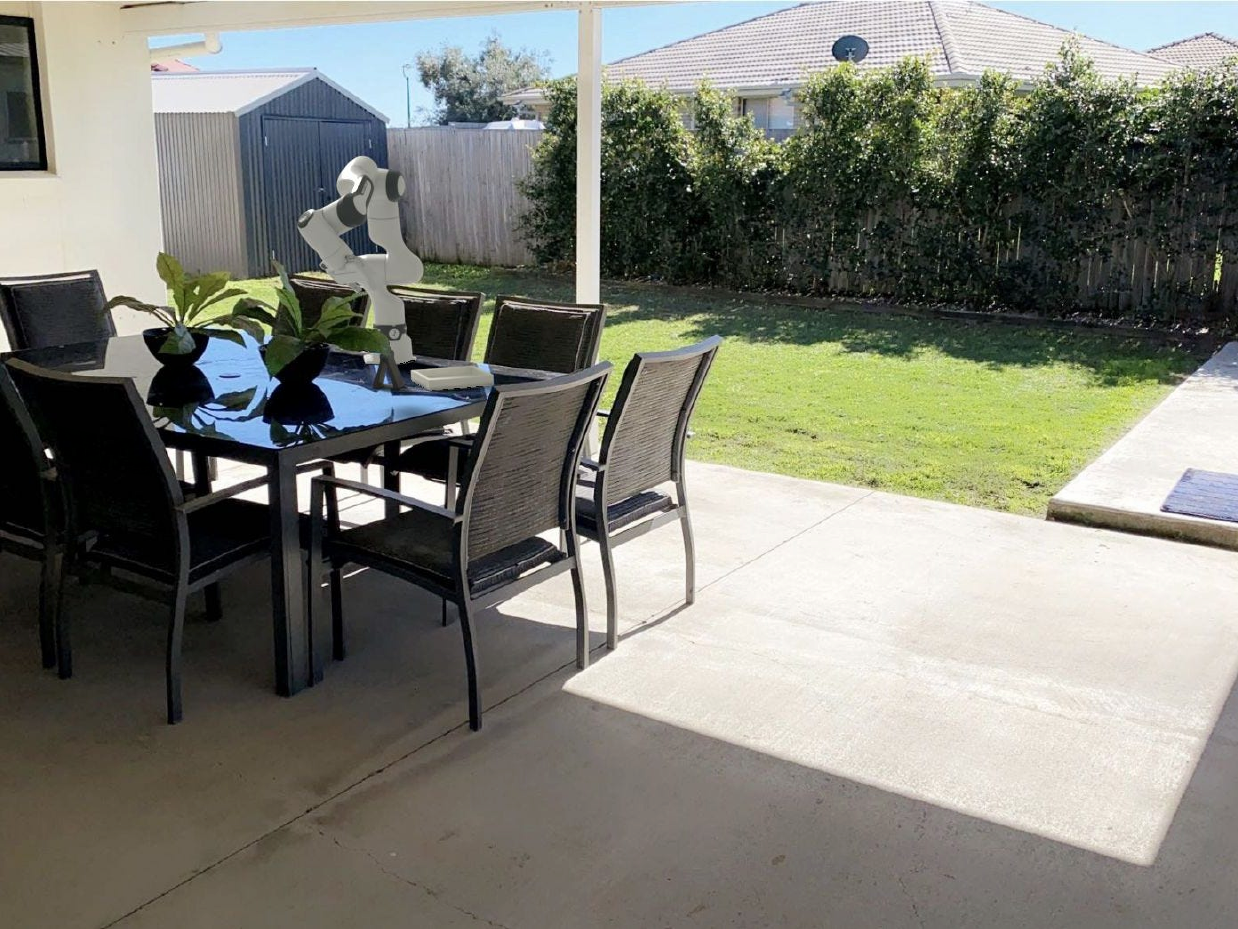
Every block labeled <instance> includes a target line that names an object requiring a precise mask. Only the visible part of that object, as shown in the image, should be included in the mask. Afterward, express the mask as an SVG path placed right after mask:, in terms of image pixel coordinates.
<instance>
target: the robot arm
mask: <svg viewBox="0 0 1238 929" xmlns="http://www.w3.org/2000/svg"><path fill="white" fill-rule="evenodd" d="M405 189H406V183H405V178H404V176H403V174H402V173H401V172H400V171H399V170H396V169H391V168H390V169H388V168H379V167H378V165H377V163H376V162H375V161H374V160H373V159H372V158H370V157H369V156H365V155H359V156H356V157H355V158H353V159H352V160H350V161H349V162H348V163H347V165H345V167H344V168H343V169H342V171H341V172H340V174H339V176H338V177H337V181H336V190H337V192H338V194H339V195H340V198H338V199H336V200H335V201H333V202H331V203H329V204H328V205H326V206H324V207H322V208H320V209H312V208H311V209H307V211H304V213H302V215H301V216H300V217H299V218H298V220H297V223H296V226H297V230H298V231H299V233H300V235H301V236H302V237H303V239H304V241H305V242H306V243H307V244H308V245H309V246H310V247H311V248H312V249H313V250H314V251H315V252H316V253H317V254H318V256H319V258H320V259H321V260H322V261H321V262H320V263H319V267H320V268H321V269H322V270H324V271H325V272H326V274H328V276H329V277H330V278H331V279H332V280H333V281H334V282H335V283H337V284H338V285H346V286H347V287H349V288H350V289H351V290H353V291H354V292H355V293H361V292H362V290H363V289H364V290H365V292H366V293H367V294H368V296H369V299H370V300H371V304H372V306H371V307H372V311H373V312H372V313H373V323H372V330H373V329H377V330H378V331H380V332H381V333H383V334H384V335H385V336H386V337H387V338H388V340H389V342H390V347H391V350H393V351H394V359H395V362H396V364H397V365H401V364H400V363H403V364H407V363H406V362H408V361H410V360H415V361H417V360H416V359H417V357H416V356H413V347H412V339H411V338H410V336H408V334H407V332H408V331H407V330H408V329H407V328H408V327H407V323H406V317H405V315H406V314H405V313H406V312H405V302H404V301H403V300H402V299H401V298H400V297H399V296H397V295H396V294H393V293H391V292H389V290H388V288H387V286H407V285H412V284H417V283H419V282H420V281H421V280H422V278H423V275H424V265H423V262H422V260H421V259H420V257H418V256H417V255H416V254H414V253H413V252H412V251H411V250H410V249H409V248H408V246H407V245H406V243H405V242H404V239H403V236H402V230H401V222H400V210H399V209H400V208H399V203H398V201H399V200H401V198H403V196H404V194H405ZM366 221H367V227H368V236H369V239H370V240H371V241H372V242H373V243H374V244H376V245H378V246H380V247H382V248H383V249H384V250H385V251H386V254H385V253H377V254H376V253H372V254H371V253H369V254H363V255H358V256H356V255H355V254H354V252H353V251H352V249H351V248H350V247H349V246H348V244H347V243H346V242H345V241H344V239H343V238H341V237H340V236H341V235H343V234H345V233H346V232H349V231H350V230H352V229H354V228H357V227H359V226H361V225H364V224H365V223H366ZM362 288H363V289H362ZM379 356H380V354H377V353H367V354H364V355H363V360H364V362H365V364H366V365H367V364H368V365H370V364H371V365H379V363H380V357H379ZM404 362H405V363H404ZM408 363H409V362H408Z"/></svg>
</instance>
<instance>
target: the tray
mask: <svg viewBox="0 0 1238 929" xmlns="http://www.w3.org/2000/svg"><path fill="white" fill-rule="evenodd" d="M410 379H411V380H412V381H411V382H412V383H414V382H415V384H417V385H418V384H419V385H418V386H420V385H421V386H422V387H421V386H420V387H421V388H423V387H424V388H423V389H425V390H426V389H427V391H428V390H429V391H428V392H431V391H432V390H436V391H444V390H443V389H448V390H455V389H454V388H460V389H468V388H467V387H471V388H477V387H476V386H483V387H492V386H493V385H495V384H494V383H495V382H494V380H495V378H494V374H492V373H490V372H488V371H486V370H483V369H481V368H479V367H477V366H475V365H466V366H449V367H438V368H436V367H435V368H426V369H425V368H424V369H411V370H410ZM493 387H494V386H493ZM432 392H433V391H432Z"/></svg>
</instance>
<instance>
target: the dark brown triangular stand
mask: <svg viewBox="0 0 1238 929" xmlns="http://www.w3.org/2000/svg"><path fill="white" fill-rule="evenodd" d="M390 353H391V355H390V356H388V355H387V356H388V357H387V356H386V355H383V354H381V353H380V356H379V357H380V363H379V364H378V367H377V369H376V373H375V376H374V379H373V383H372V387H371V388H372V389H373V390H375V389H376V390H379V389H380V390H399V388H400V389H401V388H403V387H405V382H404V380H403V378H402V377H403V376H402V375H401V372H400V369H399V367H398V364H396V362H395V359H394V351H393V350H390ZM387 370H388V373H389V374H388V375H389V378H390V381H391V383H390V384H389V383H384V382H385V377H386V372H387Z"/></svg>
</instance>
